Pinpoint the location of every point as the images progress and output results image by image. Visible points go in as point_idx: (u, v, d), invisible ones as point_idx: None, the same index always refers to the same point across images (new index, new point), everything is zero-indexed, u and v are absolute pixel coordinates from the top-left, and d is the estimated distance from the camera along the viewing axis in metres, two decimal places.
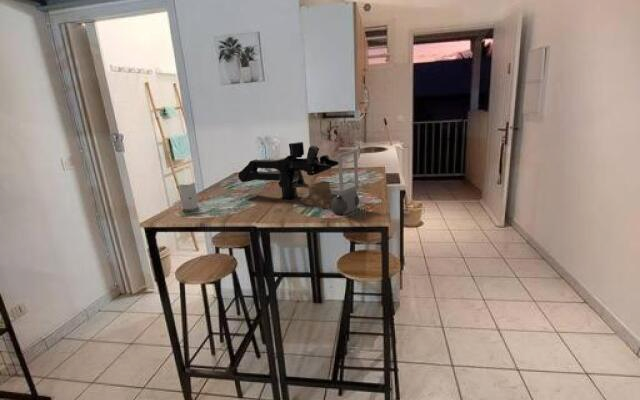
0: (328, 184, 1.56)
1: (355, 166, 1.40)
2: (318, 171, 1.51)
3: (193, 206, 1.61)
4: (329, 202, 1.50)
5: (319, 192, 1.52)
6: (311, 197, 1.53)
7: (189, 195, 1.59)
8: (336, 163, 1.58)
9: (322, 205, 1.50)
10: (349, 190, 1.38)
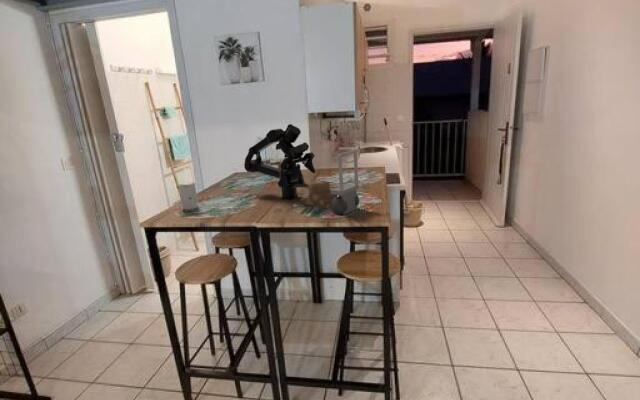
0: (328, 184, 1.56)
1: (355, 166, 1.40)
2: (290, 170, 1.55)
3: (193, 206, 1.61)
4: (329, 202, 1.50)
5: (319, 192, 1.52)
6: (311, 197, 1.53)
7: (189, 195, 1.59)
8: (312, 171, 1.61)
9: (322, 205, 1.50)
10: (349, 190, 1.38)
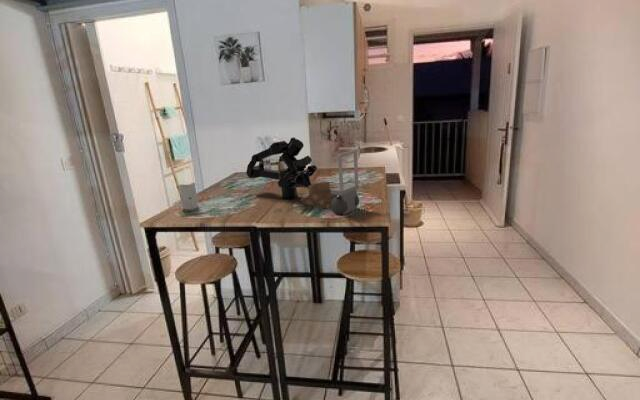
0: (328, 184, 1.56)
1: (355, 166, 1.40)
2: (299, 182, 1.59)
3: (193, 206, 1.61)
4: (329, 202, 1.50)
5: (319, 192, 1.52)
6: (311, 197, 1.53)
7: (189, 195, 1.59)
8: (309, 185, 1.59)
9: (322, 205, 1.50)
10: (349, 190, 1.38)
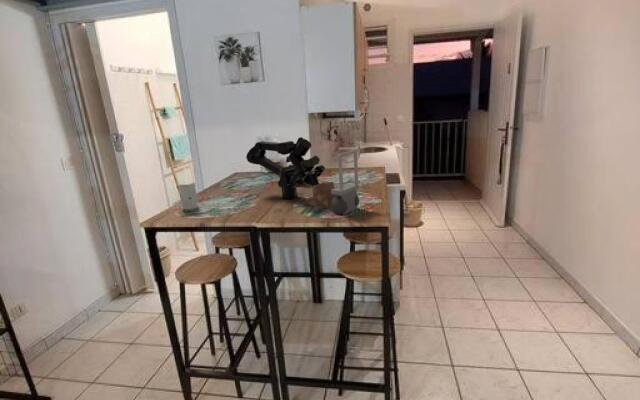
0: (332, 184, 1.55)
1: (355, 166, 1.40)
2: (307, 182, 1.56)
3: (193, 206, 1.61)
4: None
5: (323, 192, 1.51)
6: (315, 197, 1.51)
7: (189, 195, 1.59)
8: None
9: (326, 206, 1.48)
10: (349, 190, 1.38)
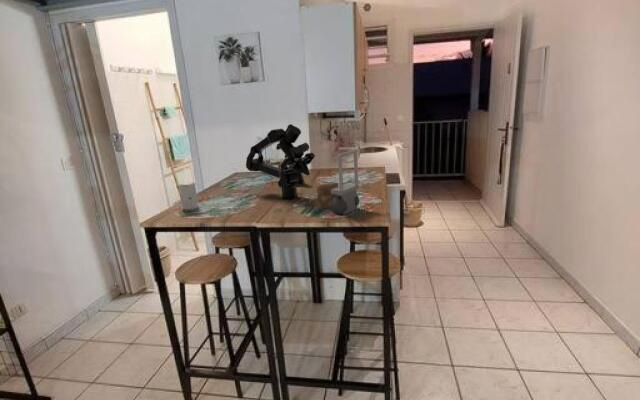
0: (337, 185, 1.54)
1: (355, 166, 1.40)
2: (297, 169, 1.58)
3: (193, 206, 1.61)
4: None
5: (328, 193, 1.49)
6: (319, 198, 1.50)
7: (189, 195, 1.59)
8: None
9: None
10: (349, 190, 1.38)
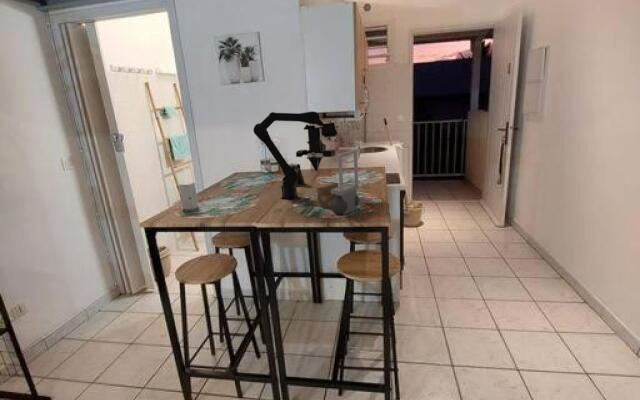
0: (337, 185, 1.54)
1: (355, 166, 1.40)
2: (318, 160, 1.64)
3: (193, 206, 1.61)
4: None
5: (328, 193, 1.49)
6: (319, 198, 1.50)
7: (189, 195, 1.59)
8: None
9: None
10: (349, 190, 1.38)
